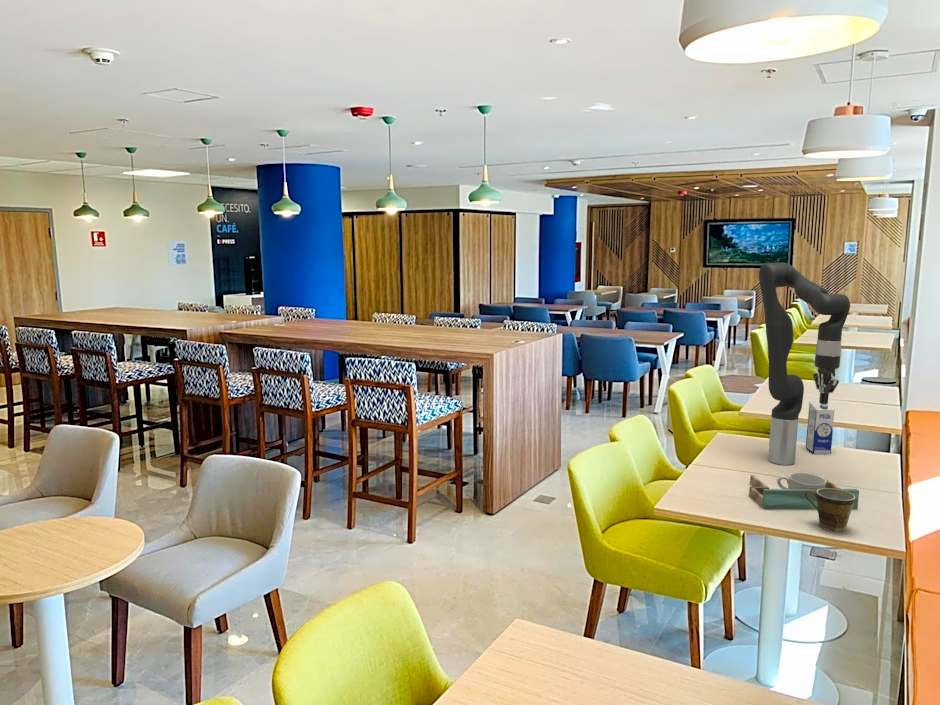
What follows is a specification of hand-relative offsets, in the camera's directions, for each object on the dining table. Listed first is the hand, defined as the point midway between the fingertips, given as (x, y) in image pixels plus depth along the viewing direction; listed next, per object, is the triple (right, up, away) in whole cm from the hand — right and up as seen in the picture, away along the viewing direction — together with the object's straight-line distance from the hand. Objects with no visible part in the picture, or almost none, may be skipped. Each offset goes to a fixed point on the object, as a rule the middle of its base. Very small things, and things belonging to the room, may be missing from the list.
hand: (823, 403), depth 232 cm
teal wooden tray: (-15, -29, -9) cm, 34 cm away
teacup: (-14, -30, -13) cm, 36 cm away
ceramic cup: (-16, -33, -33) cm, 49 cm away
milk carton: (+18, -22, +38) cm, 48 cm away
